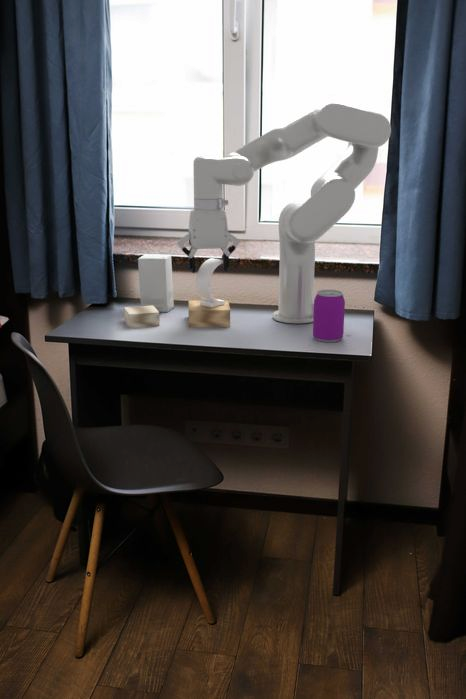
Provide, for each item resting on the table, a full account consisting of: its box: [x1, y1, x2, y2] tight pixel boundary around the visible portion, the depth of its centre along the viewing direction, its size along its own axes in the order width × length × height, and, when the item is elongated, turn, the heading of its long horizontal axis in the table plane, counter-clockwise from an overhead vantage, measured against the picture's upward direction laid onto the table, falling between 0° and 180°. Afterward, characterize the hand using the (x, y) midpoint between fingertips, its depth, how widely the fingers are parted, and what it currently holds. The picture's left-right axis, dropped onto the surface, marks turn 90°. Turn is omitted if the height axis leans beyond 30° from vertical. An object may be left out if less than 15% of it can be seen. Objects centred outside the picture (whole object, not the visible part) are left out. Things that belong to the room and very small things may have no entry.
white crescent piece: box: [195, 257, 225, 308], centre depth 214 cm, size 5×6×12 cm
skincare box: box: [137, 253, 175, 313], centre depth 228 cm, size 8×7×16 cm
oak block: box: [188, 299, 231, 328], centre depth 217 cm, size 11×11×5 cm
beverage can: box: [312, 289, 346, 343], centre depth 200 cm, size 8×8×12 cm
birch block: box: [123, 305, 160, 329], centre depth 215 cm, size 8×8×4 cm
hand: (208, 270), depth 213 cm, fingers open, 8 cm apart
